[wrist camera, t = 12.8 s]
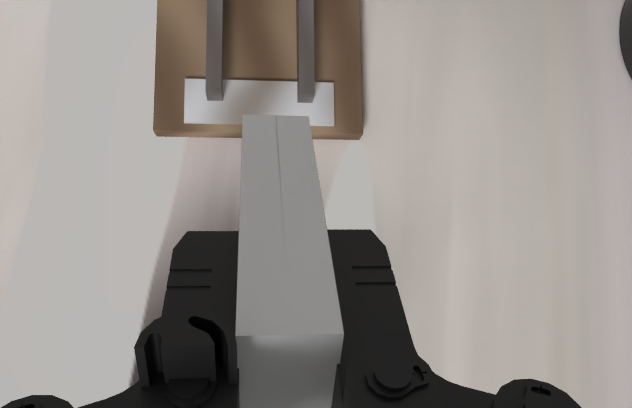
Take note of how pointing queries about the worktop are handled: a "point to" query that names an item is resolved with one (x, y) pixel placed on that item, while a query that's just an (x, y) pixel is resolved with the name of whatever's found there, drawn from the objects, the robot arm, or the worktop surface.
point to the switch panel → (257, 66)
